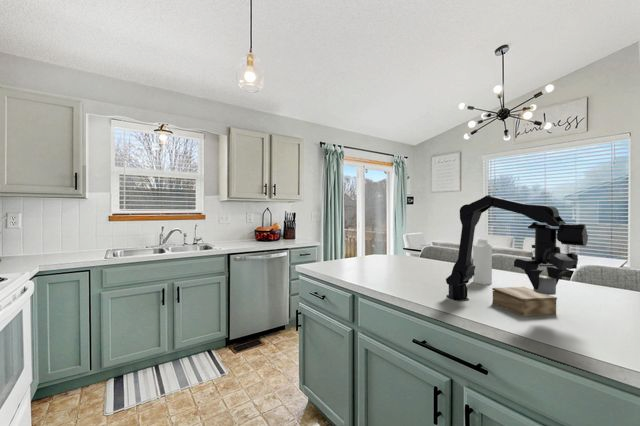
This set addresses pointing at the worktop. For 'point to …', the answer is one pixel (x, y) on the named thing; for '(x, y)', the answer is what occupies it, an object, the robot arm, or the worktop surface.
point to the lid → (524, 294)
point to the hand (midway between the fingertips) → (544, 288)
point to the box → (524, 305)
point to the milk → (482, 262)
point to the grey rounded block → (546, 285)
